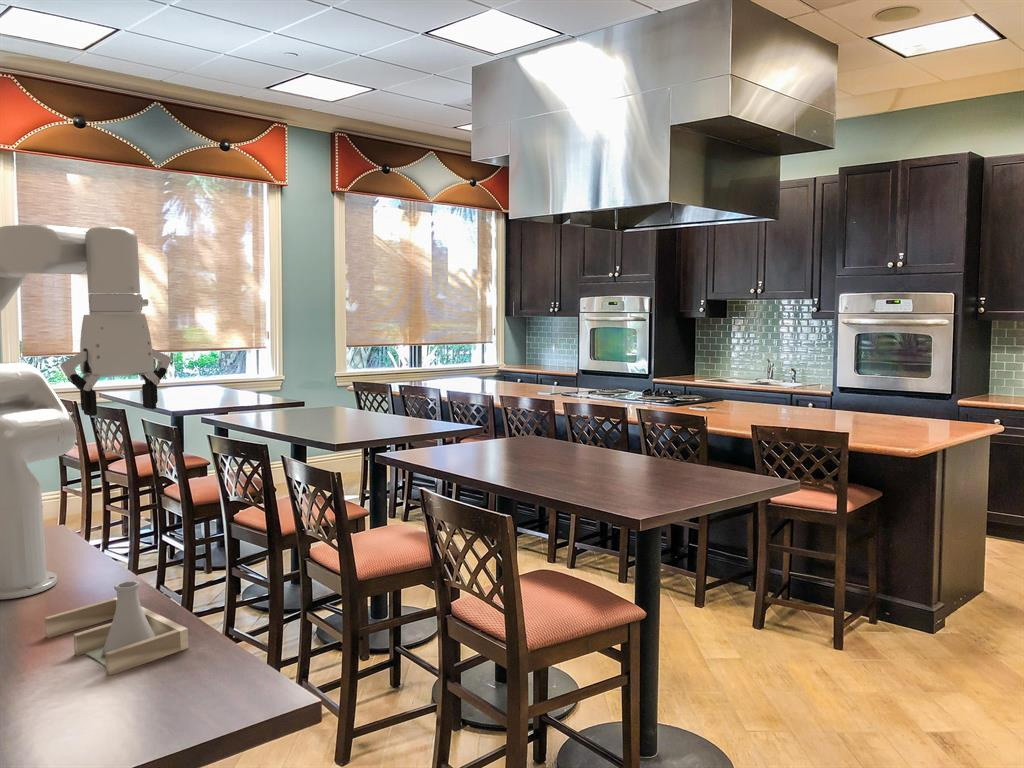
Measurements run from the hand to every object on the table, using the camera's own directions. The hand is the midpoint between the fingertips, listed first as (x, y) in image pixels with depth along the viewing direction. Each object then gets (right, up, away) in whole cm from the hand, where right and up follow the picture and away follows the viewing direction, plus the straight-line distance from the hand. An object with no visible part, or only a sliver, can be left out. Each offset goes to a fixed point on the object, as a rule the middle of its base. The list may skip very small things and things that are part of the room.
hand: (120, 411), depth 135 cm
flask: (+7, -35, -13) cm, 38 cm away
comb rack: (+3, -35, -9) cm, 36 cm away
